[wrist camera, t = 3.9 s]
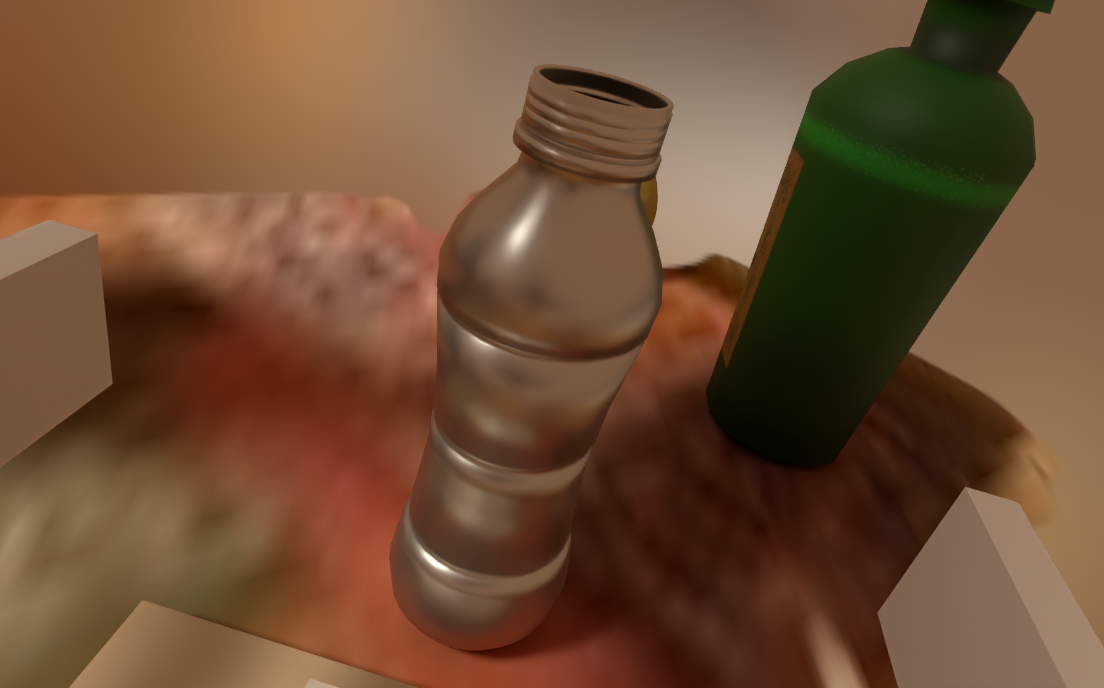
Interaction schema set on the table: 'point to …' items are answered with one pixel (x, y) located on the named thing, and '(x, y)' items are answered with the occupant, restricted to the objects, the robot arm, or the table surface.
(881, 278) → the bottle
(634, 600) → the table surface
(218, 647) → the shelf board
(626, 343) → the plastic bottle
